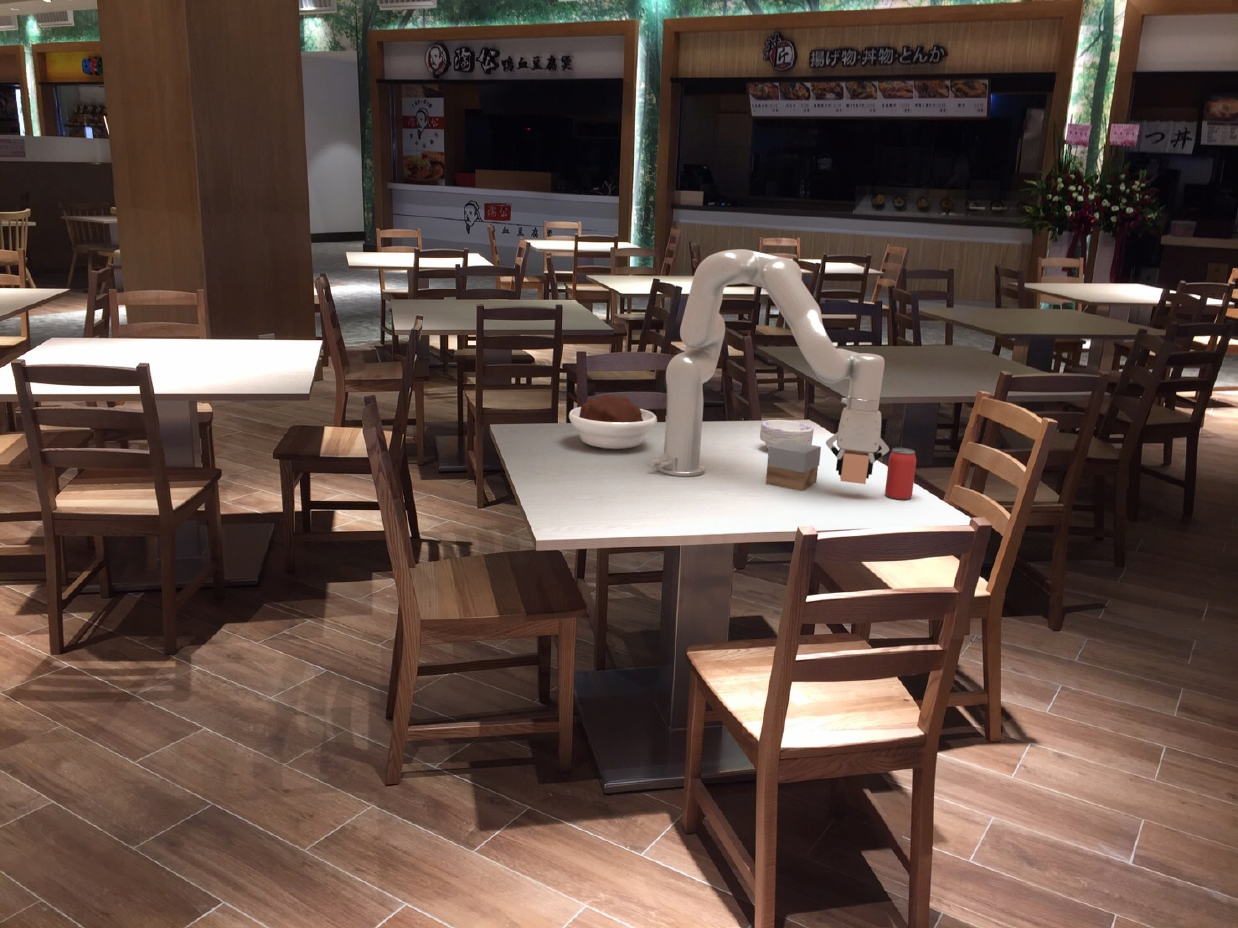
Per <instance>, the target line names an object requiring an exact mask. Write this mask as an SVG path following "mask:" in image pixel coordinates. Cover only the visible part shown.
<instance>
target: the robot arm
mask: <svg viewBox="0 0 1238 928" xmlns="http://www.w3.org/2000/svg"><path fill="white" fill-rule="evenodd" d="M802 279H803V273H802V269H801V267H800V265H799V264H798V263H797V262H796V261H795V260H793V259H790V258H787V257H783V256H776V255H773V254H769V253H764V252H759V251H755V250H750V249H746V248H745V249H744V248H743V249H740V248H738V249H728V250H722V251H718V252H716V253H713V254H710V255H709V256H707V257H706V258H704V259H703V260H702V261H701V262H700V263H699V264H698V266H697V268H696V270H695V272H694V274H693V278H692V283H691V286H690V290H689V294H688V297H687V301H686V305H685V309H684V313H683V316H682V320H681V324H680V328H679V329H680V330H679V334H680V335H679V336H680V339H681V341H682V343H683V344H685V350H684V351H683V352H679V353H678V354H676V355H675V356H674V357H672V358H671V360H670V361H669V363H668V365H667V368H666V372H665V381H666V382H665V383H666V409H665V410H666V411H665V412H666V414H665V415H666V416H665V430H664V447H663V448H664V449H663V450H664V451H663V453H661V454H660V457H658V458H654V459H652V458H651V459H650V460H649V466H650V467H652V468H653V467H657V468H656V469H657V471H658V472H660V473H662V474H666V475H670V476H677V477H694V476H695V477H696V476H700V475H703V474H704V473H705V471H706V467H705V466H704V465H703V464H700V460H701V459H700V458H701V445H702V444H701V441H702V428H703V415H704V414H703V413H704V391H703V384H704V383H707V382H708V381H709V380H711V378H712V377H713V376H714V374H715V372H716V368H717V366H718V362H719V358H720V354H721V350H722V345H723V342H724V339H725V333H726V323H725V319H724V318H723V316H722V315H721V313H720V310H721V309H720V308H721V305H722V302H723V298H724V297H723V296H724V290H725V288H726V287H727V286H729V285H739V284H740V285H741V284H747V285H751V286H755V287H759V288H763V289H764V290H765V291H766V294H768V296H769V297H770V300H771V301H772V302H773V304H774V305H775V307H776V308H777V309H778V311H779V313H780V314H781V315H782V318H784V320H785V322H786V324H787V325H788V326H789V328H790V331H791V333H792V336H793V337H794V339H795V342H796V344H797V346H798V348H799V350H800V352H801V354H802V355H803V357H804V359H805V360H806V362H807V364H808V365H809V367H810V368H811V369H812V371H813V372H814V374H815V375H816V376H817V377H818V378H819V380H821V381H823V382H825V383H826V384H836V383H839V382H841V381H843V380H846V379H847V380H848V379H849V388H848V395H847V396H846V397H841V401H840V403H841V404H844V405H846V406H845V407H843V409H842V412H841V416H840V421H839V423H838V430H837V432H836V433H835V434H833V435H832V436H831V437H829V438H828V439H826V441H825V445H826V447H828V448H829V450H830V451H831V452H832V454H833V455H834V456H835V457H836V468H835V471H836V472H838V476H840V475H841V472H842V465H843V455H844V452H845V451H846V450H850V451H858V452H868V455H869V462H868V469H867V476H866V480H867V479H869V478H870V476H871V475H873V469H874V468H873V467H874V464H875V462H876V461H878V460H879V459H881V457H883V456H884V455H887V453H888V452H889V451H890V448H889V446H888V445H887V444H886V442H885V441H884V440H883V439H882V438H881V433H882V432H881V431H882V412H881V411H880V410H879V407H880V400H881V399H880V398H881V390H882V385H883V377H884V371H885V358H884V357H883V356H881V355H880V354H876V353H875V354H874V353H866V352H865V353H863V352H861V353H860V352H856V351H851V350H847V349H846V348H845V349H844V348H836V346H835V345H834V343H833V341H832V340H831V339H830V337H829V335H828V333H827V331H826V329H825V326H824V324H823V318H822V311H821V308H820V305H819V304H818V303H817V301H816V300H815V298H814V297H813V295H812V294H811V292H810V290H809V289H808V288H807V286H806V285H805V283H804V281H803V280H802ZM834 442H836V445H837V447H836V446H835V445H834ZM880 448H881V449H880ZM879 449H880V450H879Z"/></svg>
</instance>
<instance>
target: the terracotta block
mask: <svg viewBox="0 0 1238 928" xmlns="http://www.w3.org/2000/svg"><path fill="white" fill-rule="evenodd" d="M868 462H869V455H868V452H858V451H850V450H846V451H845V452H844V455H843V465H842V472H841V475H839V476H840V478H839V479H840V482H844V483H854V484H860V485H861V484H862V485H866V482H867V478H866V476H867V469H868Z"/></svg>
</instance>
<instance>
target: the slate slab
mask: <svg viewBox="0 0 1238 928" xmlns="http://www.w3.org/2000/svg"><path fill="white" fill-rule="evenodd" d="M821 448H822V446H819V445H814V444H811V445H809V444H804V443H798V442H792V441H787V440H785V441H782V442H780V443H777V444H775V445H772V446H769V449H768V453H767V466H772V467H777V468H782V469H787V470H792V471H797V472H803V473H804V472H806V471H808V470H810V469H812V468H815V467H817V466H818V467H819V466H820V462H821V461H820V460H821V451H822V450H821ZM767 466H766V467H767Z"/></svg>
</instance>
